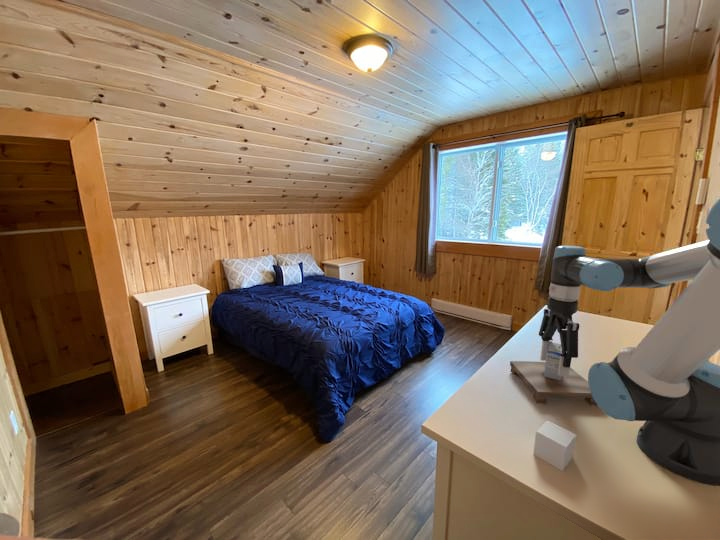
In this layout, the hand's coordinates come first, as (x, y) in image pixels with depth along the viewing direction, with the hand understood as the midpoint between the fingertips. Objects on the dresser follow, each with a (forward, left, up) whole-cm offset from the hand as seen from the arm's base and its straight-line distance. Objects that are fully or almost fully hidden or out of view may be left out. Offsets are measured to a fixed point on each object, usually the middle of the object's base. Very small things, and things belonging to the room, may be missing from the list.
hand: (553, 367), depth 95 cm
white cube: (-28, +15, -7) cm, 32 cm away
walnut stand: (0, 0, -7) cm, 7 cm away
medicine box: (0, 0, -2) cm, 2 cm away
